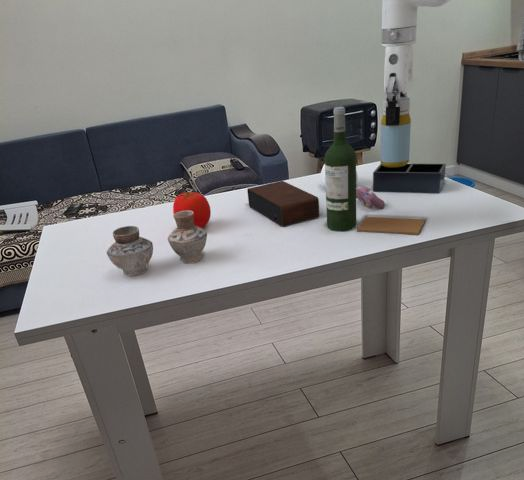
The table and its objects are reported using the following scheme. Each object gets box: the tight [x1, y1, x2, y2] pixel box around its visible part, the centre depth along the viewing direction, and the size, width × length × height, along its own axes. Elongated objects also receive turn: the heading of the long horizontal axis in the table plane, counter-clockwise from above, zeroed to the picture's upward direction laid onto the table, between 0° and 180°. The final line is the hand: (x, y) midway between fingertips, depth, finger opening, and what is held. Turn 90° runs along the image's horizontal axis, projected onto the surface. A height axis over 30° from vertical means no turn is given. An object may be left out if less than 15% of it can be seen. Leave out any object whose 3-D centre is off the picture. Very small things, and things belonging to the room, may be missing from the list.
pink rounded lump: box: [356, 185, 386, 210], centre depth 156 cm, size 10×5×7 cm, turn 22°
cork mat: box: [356, 215, 426, 236], centre depth 142 cm, size 16×10×1 cm, turn 66°
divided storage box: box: [372, 163, 447, 194], centre depth 167 cm, size 20×10×6 cm, turn 66°
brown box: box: [246, 180, 320, 228], centre depth 159 cm, size 24×12×6 cm, turn 25°
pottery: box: [106, 210, 208, 277], centre depth 133 cm, size 11×25×12 cm, turn 109°
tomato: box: [172, 191, 212, 229], centre depth 153 cm, size 10×11×11 cm
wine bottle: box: [324, 106, 357, 232], centre depth 138 cm, size 8×8×30 cm
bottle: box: [379, 96, 412, 167], centre depth 131 cm, size 7×7×15 cm
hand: (396, 121), depth 129 cm, fingers closed on bottle, 7 cm apart
